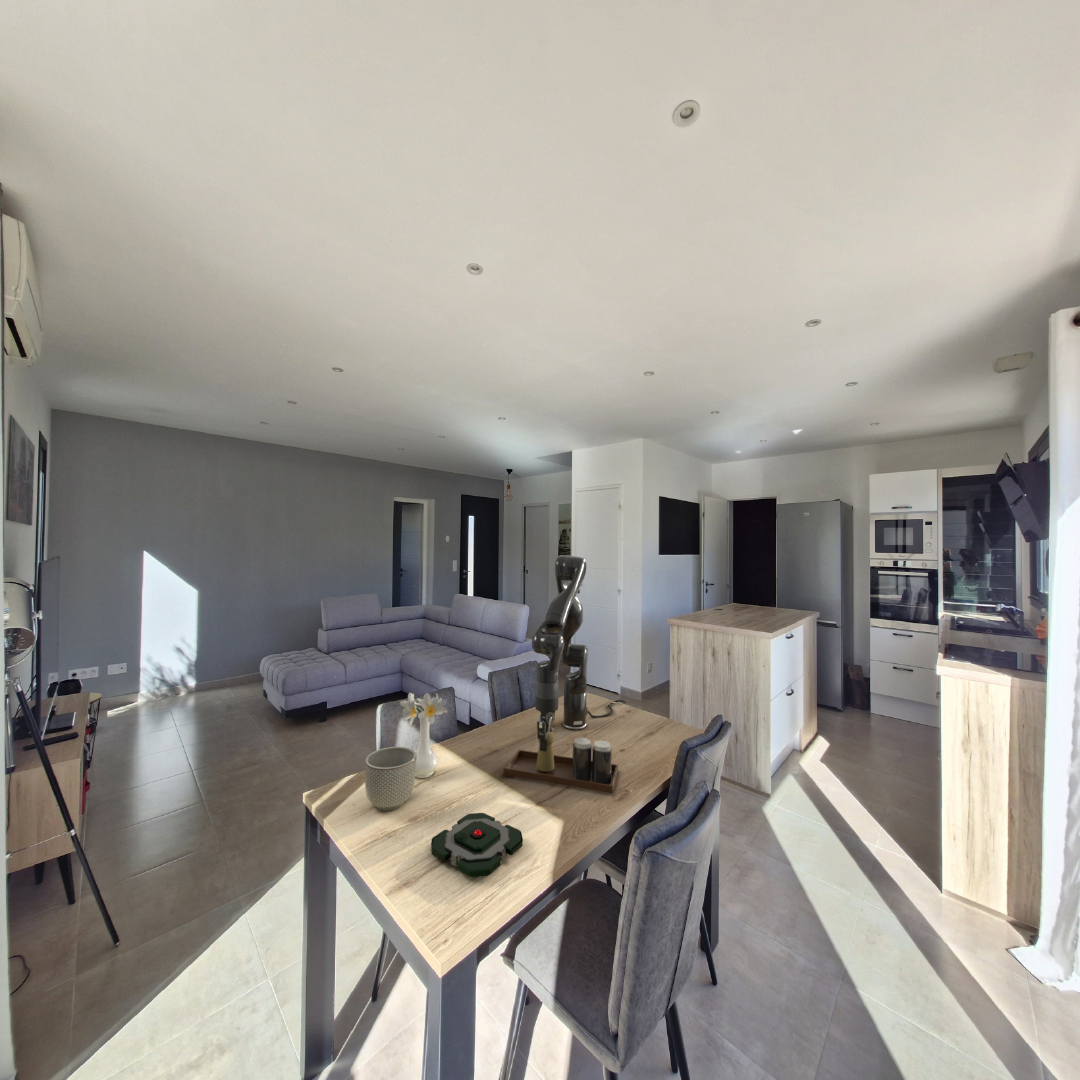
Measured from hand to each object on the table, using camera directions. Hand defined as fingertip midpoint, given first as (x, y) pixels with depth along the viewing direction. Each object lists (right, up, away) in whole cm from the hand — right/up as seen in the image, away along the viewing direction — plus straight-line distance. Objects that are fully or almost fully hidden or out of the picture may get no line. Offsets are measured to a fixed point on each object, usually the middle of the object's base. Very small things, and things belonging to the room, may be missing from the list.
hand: (545, 746), depth 147 cm
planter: (-44, -7, -21) cm, 49 cm away
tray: (+5, -8, -2) cm, 10 cm away
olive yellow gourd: (0, -7, 0) cm, 7 cm away
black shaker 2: (+17, -8, -5) cm, 20 cm away
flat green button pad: (-17, -7, -39) cm, 43 cm away
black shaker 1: (+11, -8, -4) cm, 14 cm away
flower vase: (-40, -7, -3) cm, 40 cm away
